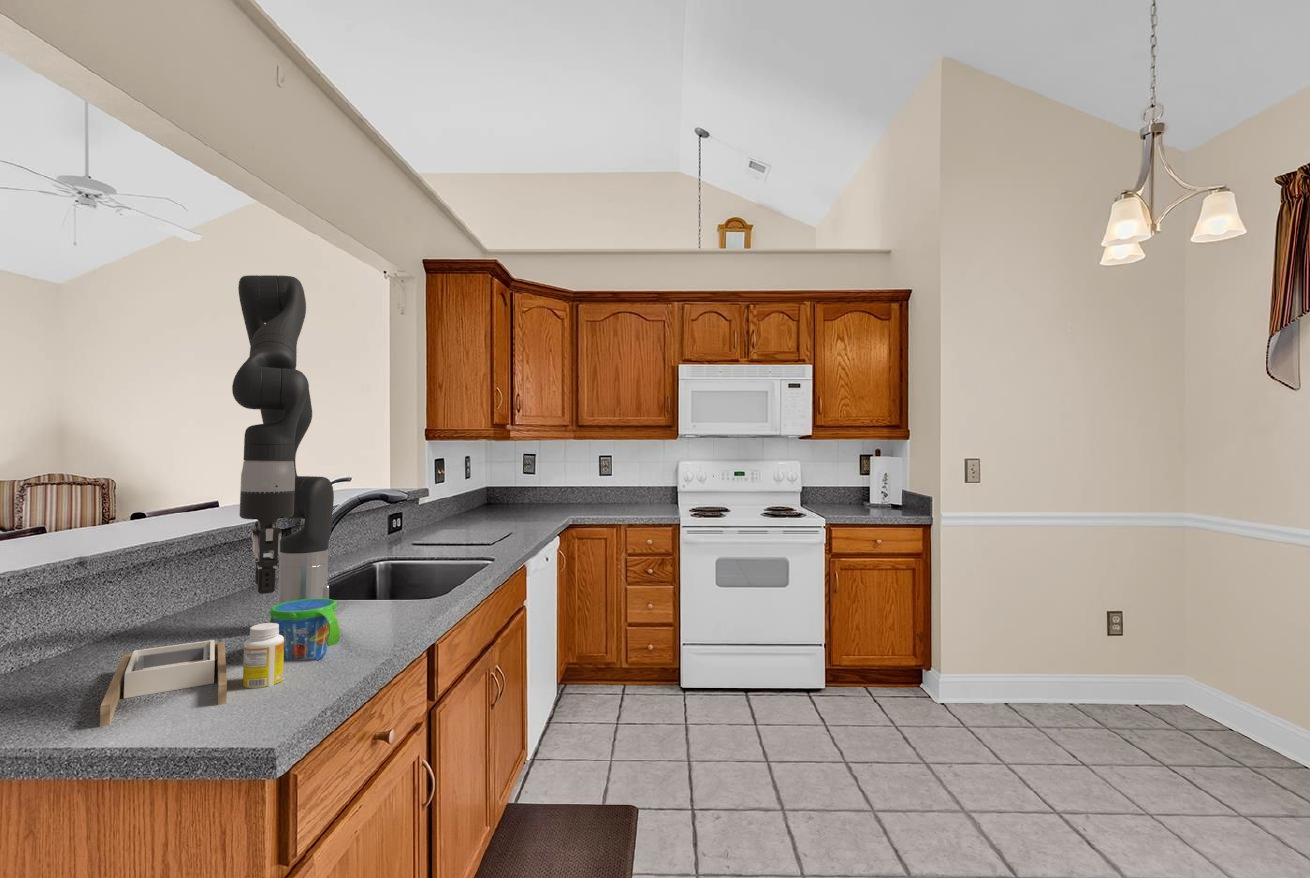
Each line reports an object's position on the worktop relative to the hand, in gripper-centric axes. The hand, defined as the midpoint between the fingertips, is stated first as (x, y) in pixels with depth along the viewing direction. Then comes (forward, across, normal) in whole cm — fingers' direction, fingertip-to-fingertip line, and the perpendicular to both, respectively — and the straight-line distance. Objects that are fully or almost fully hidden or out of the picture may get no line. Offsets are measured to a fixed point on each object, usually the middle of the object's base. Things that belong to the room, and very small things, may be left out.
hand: (264, 588), depth 100 cm
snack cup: (+16, +13, -7) cm, 22 cm away
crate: (+15, +10, +12) cm, 22 cm away
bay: (+16, +6, +12) cm, 21 cm away
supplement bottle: (+17, 0, 0) cm, 17 cm away
